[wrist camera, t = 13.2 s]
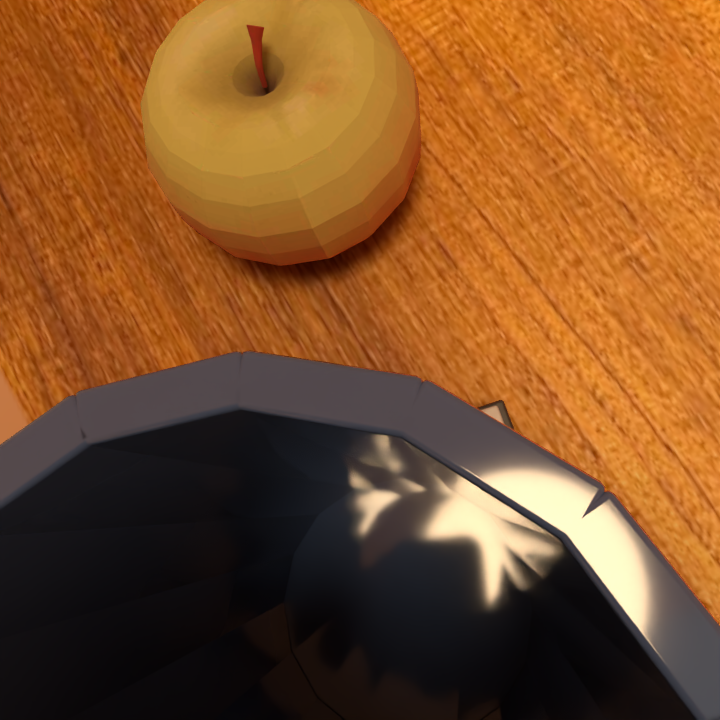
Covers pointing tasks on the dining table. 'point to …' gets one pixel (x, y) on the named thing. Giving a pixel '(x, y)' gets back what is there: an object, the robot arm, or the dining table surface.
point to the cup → (326, 561)
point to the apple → (282, 125)
